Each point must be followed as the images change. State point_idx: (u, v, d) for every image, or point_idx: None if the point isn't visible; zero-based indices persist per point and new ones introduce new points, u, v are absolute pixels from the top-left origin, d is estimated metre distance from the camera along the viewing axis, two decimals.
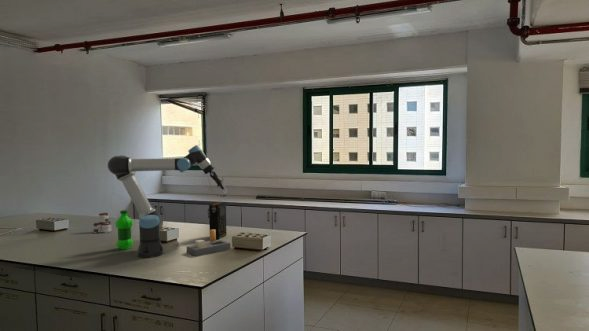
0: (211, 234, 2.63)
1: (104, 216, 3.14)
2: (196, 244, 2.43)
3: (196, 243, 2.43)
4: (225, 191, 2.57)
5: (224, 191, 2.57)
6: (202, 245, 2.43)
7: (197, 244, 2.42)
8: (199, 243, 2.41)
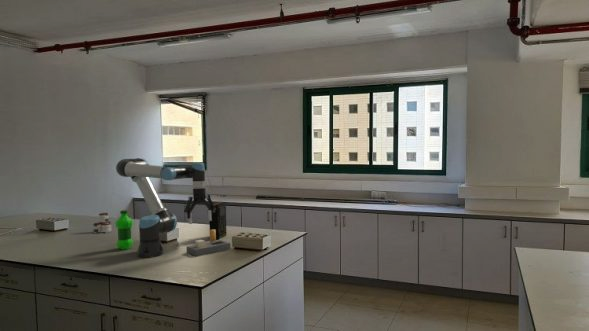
0: (211, 234, 2.63)
1: (104, 216, 3.14)
2: (196, 244, 2.43)
3: (196, 243, 2.43)
4: (189, 221, 2.39)
5: (189, 221, 2.39)
6: (202, 245, 2.43)
7: (197, 244, 2.42)
8: (199, 243, 2.41)
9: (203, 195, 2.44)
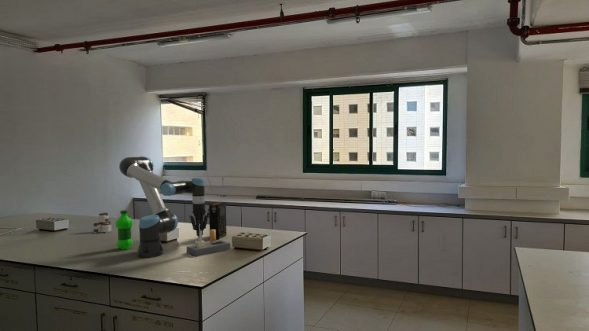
0: (211, 234, 2.63)
1: (104, 216, 3.14)
2: (196, 244, 2.43)
3: (196, 243, 2.43)
4: (198, 239, 2.43)
5: (198, 238, 2.43)
6: (202, 245, 2.43)
7: (197, 244, 2.42)
8: (199, 243, 2.41)
9: (204, 209, 2.44)
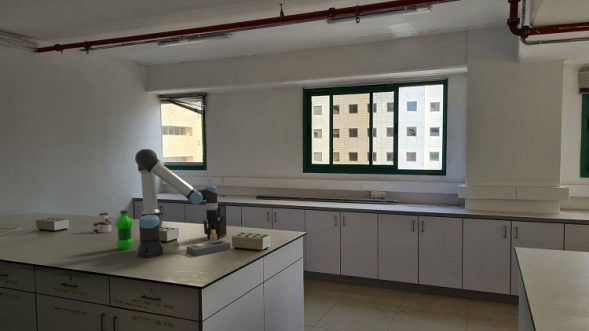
0: (211, 234, 2.63)
1: (104, 216, 3.14)
2: None
3: None
4: None
5: None
6: None
7: None
8: (199, 247, 2.41)
9: (216, 215, 2.65)
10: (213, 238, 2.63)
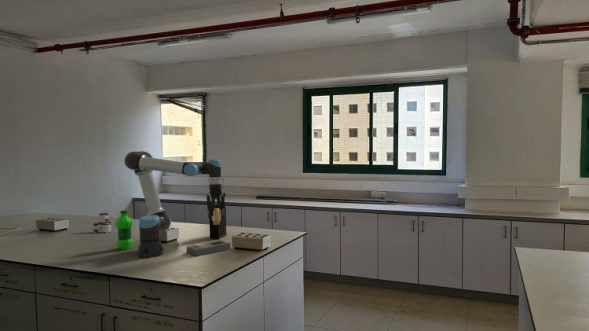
0: None
1: (104, 216, 3.14)
2: None
3: None
4: (213, 219, 2.50)
5: (212, 218, 2.50)
6: None
7: None
8: (199, 247, 2.41)
9: (220, 190, 2.52)
10: (217, 217, 2.50)
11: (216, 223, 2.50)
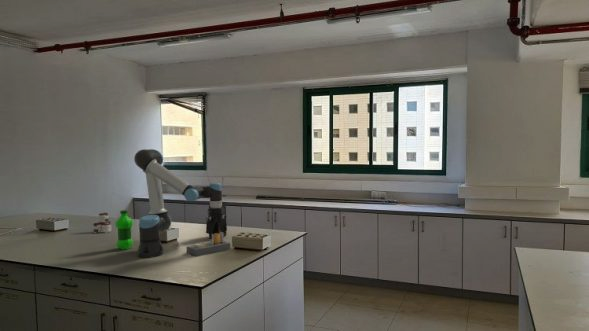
0: (215, 238, 2.50)
1: (104, 216, 3.14)
2: None
3: None
4: (211, 242, 2.49)
5: (211, 241, 2.49)
6: None
7: None
8: (199, 247, 2.41)
9: (220, 214, 2.52)
10: (217, 242, 2.50)
11: None
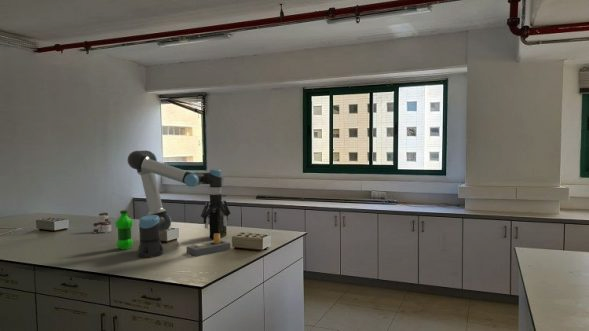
0: (215, 238, 2.50)
1: (104, 216, 3.14)
2: None
3: None
4: (205, 226, 2.47)
5: (205, 225, 2.47)
6: None
7: None
8: (199, 247, 2.41)
9: (219, 201, 2.52)
10: (217, 242, 2.50)
11: None
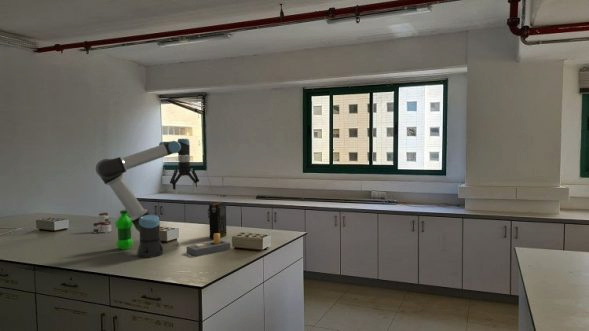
0: (215, 238, 2.50)
1: (104, 216, 3.14)
2: None
3: None
4: (175, 192, 2.61)
5: (174, 191, 2.61)
6: None
7: None
8: (199, 247, 2.41)
9: (188, 168, 2.66)
10: (217, 242, 2.50)
11: None
